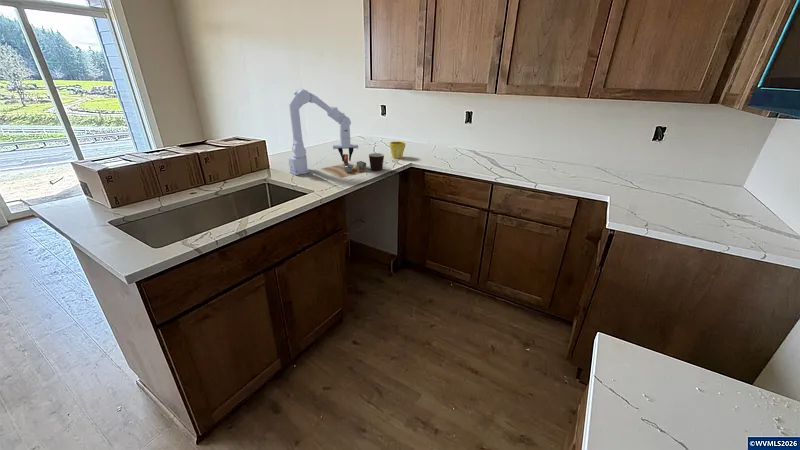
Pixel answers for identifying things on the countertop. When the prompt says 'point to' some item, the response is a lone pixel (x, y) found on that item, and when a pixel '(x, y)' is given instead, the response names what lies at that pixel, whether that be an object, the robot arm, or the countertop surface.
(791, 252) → the countertop surface
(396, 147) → the plant pot
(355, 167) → the walnut
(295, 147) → the robot arm
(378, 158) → the coffee mug
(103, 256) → the countertop surface
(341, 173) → the nutcracker base
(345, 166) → the lever
